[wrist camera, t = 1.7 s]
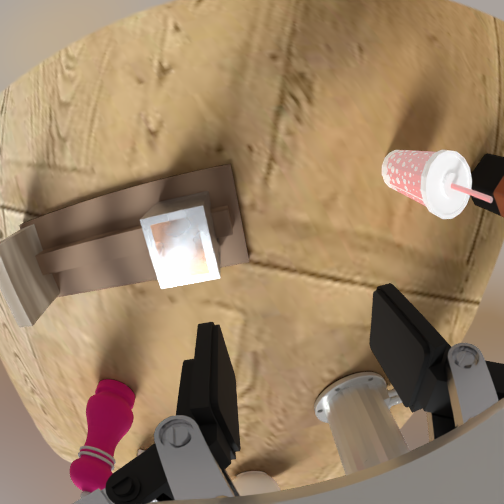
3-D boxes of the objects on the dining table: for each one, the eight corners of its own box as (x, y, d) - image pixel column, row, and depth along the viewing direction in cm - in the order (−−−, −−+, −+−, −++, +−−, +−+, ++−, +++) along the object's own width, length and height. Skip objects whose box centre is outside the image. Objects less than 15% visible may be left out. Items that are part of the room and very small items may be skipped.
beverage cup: (426, 178, 29) (515, 210, 16) (390, 207, 30) (476, 255, 17) (404, 133, 26) (500, 144, 14) (366, 161, 27) (456, 186, 15)
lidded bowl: (278, 463, 49) (286, 505, 39) (279, 481, 54) (285, 517, 44) (220, 468, 48) (221, 510, 38) (228, 486, 53) (230, 522, 43)
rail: (230, 163, 27) (231, 173, 19) (248, 258, 30) (256, 298, 23) (22, 223, 26) (-18, 247, 19) (50, 295, 30) (20, 331, 23)
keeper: (208, 190, 26) (202, 205, 21) (221, 249, 29) (220, 278, 23) (157, 202, 26) (139, 219, 21) (173, 259, 29) (161, 288, 23)
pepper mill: (88, 374, 35) (47, 483, 17) (130, 377, 36) (98, 499, 17) (105, 404, 38) (76, 504, 20) (144, 407, 39) (124, 517, 20)
